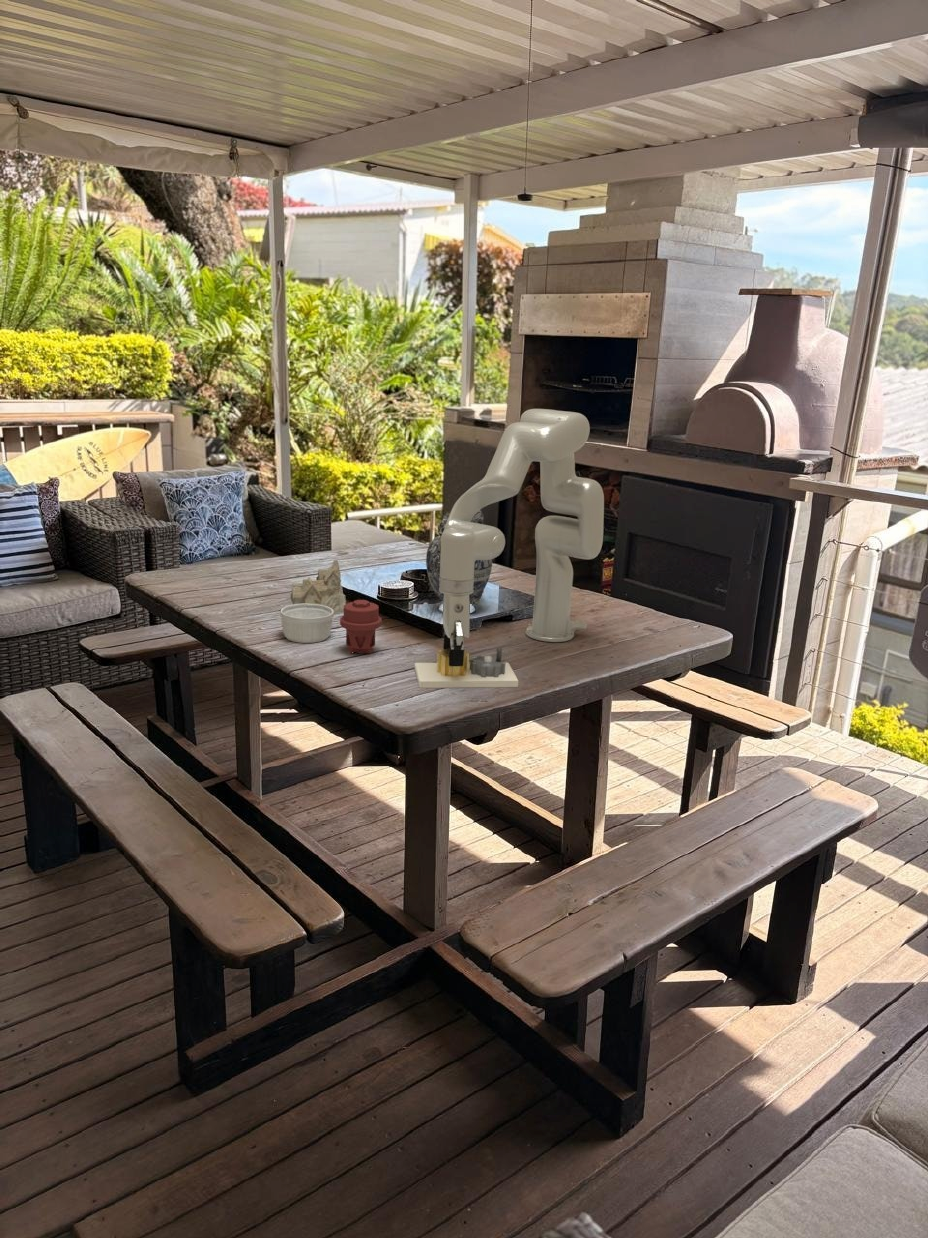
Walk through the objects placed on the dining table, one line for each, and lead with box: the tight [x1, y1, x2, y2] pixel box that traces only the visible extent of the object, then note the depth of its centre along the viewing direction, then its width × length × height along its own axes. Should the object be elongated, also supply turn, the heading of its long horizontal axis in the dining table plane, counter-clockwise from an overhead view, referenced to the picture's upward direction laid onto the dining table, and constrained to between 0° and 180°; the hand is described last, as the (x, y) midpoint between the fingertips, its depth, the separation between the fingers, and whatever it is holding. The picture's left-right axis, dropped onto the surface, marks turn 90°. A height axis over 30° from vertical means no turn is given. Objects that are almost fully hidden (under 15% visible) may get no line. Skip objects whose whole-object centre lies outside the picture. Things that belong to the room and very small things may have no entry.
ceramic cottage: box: [289, 559, 347, 615], centre depth 254 cm, size 16×16×15 cm
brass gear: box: [436, 648, 470, 677], centre depth 206 cm, size 7×7×4 cm
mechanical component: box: [339, 599, 383, 654], centre depth 221 cm, size 12×10×10 cm
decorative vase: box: [425, 509, 493, 605], centre depth 256 cm, size 21×19×28 cm
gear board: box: [414, 647, 519, 689], centre depth 207 cm, size 22×12×7 cm, turn 98°
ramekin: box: [279, 603, 335, 644], centre depth 230 cm, size 13×13×7 cm
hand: (453, 658), depth 206 cm, fingers open, 9 cm apart
